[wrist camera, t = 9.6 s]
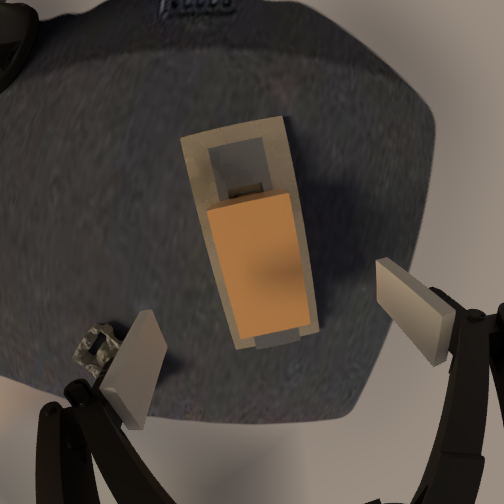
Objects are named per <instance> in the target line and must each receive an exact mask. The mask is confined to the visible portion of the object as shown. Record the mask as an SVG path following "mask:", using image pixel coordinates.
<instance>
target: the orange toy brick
mask: <svg viewBox="0 0 504 504" xmlns="http://www.w3.org/2000/svg"><path fill="white" fill-rule="evenodd" d="M207 215H208V219H209V223H210V227H211V231H212V235H213V239H214V243H215V246H216V250H217V254H218V258H219V262H220V266H221V269H222V273H223V277H224V281H225V284H226V288H227V292H228V295H229V299H230V303H231V306H232V310H233V313H234V317H235V321H236V324H237V328H238V331H239V335H240V338H241V339H244V338H249V337H254V336H259V335H264V334H269V333H274V332H278V331H283V330H287V329H292V328H296V327H300V326H305V325H309V324H311V323H310V316H309V309H308V302H307V295H306V289H305V282H304V276H303V270H302V263H301V257H300V251H299V245H298V240H297V234H296V228H295V223H294V217H293V212H292V206H291V201H290V196H289V193H288V192H287V191H285V190H283V189H281V188H280V189H275V190H270V191H265V192H261V193H256V194H255V192H249V193H245V194H240V195H238V196H237V198H233V199H229V200H224V201H220V202H216V203H212V204H211V205H210V207H209V208H208V209H207Z"/></svg>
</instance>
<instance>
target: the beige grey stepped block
mask: <svg viewBox="0 0 504 504" xmlns="http://www.w3.org/2000/svg"><path fill="white" fill-rule="evenodd" d="M180 140H181V145H182V149H183V154H184V158H185V162H186V167H187V171H188V175H189V179H190V184H191V188H192V192H193V196H194V200H195V204H196V208H197V212H198V216H199V220H200V224H201V228H202V232H203V235H204V239H205V243H206V247H207V251H208V254H209V258H210V262H211V265H212V269H213V273H214V276H215V280H216V283H217V287H218V290H219V294H220V297H221V301H222V304H223V308H224V311H225V315H226V318H227V321H228V325H229V328H230V331H231V335H232V338H233V341H234V345H235V348H236V350H237V349H243V348H248V347H253V346H256V348H257V350H258V349H263V348H268V347H272V346H277V345H282V344H286V343H291V342H295V341H300V336H304V335H308V334H312V333H316V332H319V324H318V316H317V308H316V300H315V293H314V286H313V279H312V272H311V265H310V258H309V252H308V246H307V240H306V234H305V228H304V222H303V216H302V210H301V205H300V199H299V194H298V189H297V183H296V178H295V173H294V168H293V163H292V158H291V154H290V149H289V144H288V139H287V135H286V130H285V126H284V121H283V117H282V116H277V117H271V118H266V119H260V120H255V121H250V122H245V123H240V124H235V125H231V126H226V127H222V128H217V129H213V130H209V131H205V132H201V133H197V134H193V135H190V136H186V137H182V138H180ZM280 188H281V189H283V190H285V191H287V192H288V193H289V196H290V201H291V206H292V212H293V217H294V223H295V228H296V234H297V240H298V245H299V251H300V257H301V263H302V270H303V276H304V282H305V289H306V295H307V302H308V309H309V316H310V323H311V324H309V325H305V326H300V327H296V328H292V329H287V330H283V331H278V332H274V333H269V334H264V335H259V336H254V337H249V338H244V339H241V338H240V335H239V331H238V328H237V324H236V321H235V317H234V313H233V310H232V306H231V303H230V299H229V295H228V292H227V288H226V284H225V281H224V277H223V273H222V269H221V266H220V262H219V258H218V254H217V250H216V246H215V243H214V239H213V235H212V231H211V227H210V223H209V219H208V215H207V209H208V208H209V207H210V205H211V204H212V203H216V202H220V201H224V200H229V199H233V198H237V196H238V195H240V194H245V193H249V192H255V194H256V193H261V192H265V191H270V190H275V189H280Z"/></svg>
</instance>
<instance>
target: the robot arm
mask: <svg viewBox="0 0 504 504" xmlns="http://www.w3.org/2000/svg"><path fill="white" fill-rule="evenodd" d="M38 26H39V17H38V14H37V12H36V10H35V9H33V8H32V7H30V6H28V5H27V4H24V3H13V4H12V3H2V2H0V93H1V92H2V91H3V90H4V89H5V88H6V87H7V86H8V85H9V84H10V83H11V81H12V80H13V79H14V78H15V76H16V75H17V73H18V72H19V71H20V69H21V67H22V66H23V64H24V62H25V61H26V59H27V57H28V55H29V53H30V51H31V49H32V46H33V44H34V41H35V38H36V35H37V31H38ZM376 278H377V302H378V303H379V304H380V305H381V306H382V308H383V309H384V310H385V311H386V312H387V313H388V314H389V315H390V317H391V318H392V319H393V320H394V321H395V322H396V323H397V324H398V326H399V327H400V328H401V329H402V330H403V331H404V333H405V334H406V335H407V336H408V337H409V338H410V340H411V341H412V342H413V343H414V344H415V345H416V346H417V348H418V349H419V350H420V351H421V353H422V354H423V355H424V356H425V357H426V359H427V360H428V361H429V362H430V364H431V365H432V366H433V367H434V366H436V365H439V364H441V363H443V362H445V361H446V359H447V355H448V351H450V353H451V354H452V355H453V358H452V362H451V365H450V369H449V373H450V376H449V381H448V387H447V392H446V397H445V402H444V406H443V411H442V415H441V420H440V423H439V427H438V431H437V435H436V438H435V441H434V445H433V448H432V451H431V454H430V458H429V461H428V463H427V467H426V469H425V472H424V475H423V477H422V480H421V483H420V485H419V487H418V490H417V491H416V493H415V495H414V497H413V499H412V501H411V503H410V504H475V500H476V497H477V493H478V490H479V486H480V481H481V477H482V473H483V469H484V463H485V458H484V456H481V451H482V445H483V438H484V432H485V425H486V416H487V405H488V391H489V365H490V368H491V372H492V375H493V379H494V383H495V387H496V391H497V396H498V400H499V405H500V409H501V415H502V420H503V426H504V303H502V304H500V305H499V307H498V311H497V314H492V315H487V316H486V314H485V313H484V312H482V311H480V310H477V309H468V310H466V309H465V308H463V307H462V306H461V305H460V304H458V303H457V302H456V301H454V300H453V299H451V297H449V296H448V295H446V293H444V292H443V291H442V290H440V289H437V288H434V287H430V288H427V287H426V286H425V285H423V284H422V283H421V282H419V281H418V280H417V279H416V278H414V277H413V276H412V275H410V274H409V273H408V272H406V271H405V270H404V269H402V268H401V267H400V266H398V265H397V264H396V263H394V262H393V261H391V260H390V259H389V258H387V257H386V258H382V259H378V260H376ZM166 350H167V345H166V342H165V340H164V338H163V335H162V333H161V331H160V328H159V326H158V324H157V321H156V319H155V316H154V314H153V311H152V309H150V310H144V311H140V312H139V314H138V316H137V318H136V319H135V321H134V323H133V325H132V327H131V328H130V330H129V332H128V334H127V336H126V338H125V339H124V341H123V343H122V345H121V347H120V349H119V350H118V352H117V354H116V356H115V357H111V358H110V359H109V360H108V361H107V362H106V363H105V364H104V366H103V368H102V370H101V371H102V372H100V374H99V377H97V379H96V381H95V383H94V385H93V387H92V388H91V386H90V385H89V383H88V382H87V381H86V380H85V379H77V380H74V381H72V382H71V383H69V384H68V385H67V386H66V387H65V389H64V396H65V397H66V398H67V400H68V401H69V403H70V404H71V405H72V407H68V408H62V406H61V405H60V404H59V403H58V402H55V401H54V402H49V403H47V404H46V405H44V406H43V408H42V409H41V410H40V414H39V422H38V432H37V446H36V473H35V475H36V476H35V477H36V479H35V480H36V504H100V500H99V496H98V491H97V486H96V481H95V475H94V470H93V463H92V456H91V453H92V455H93V457H94V459H95V462H96V464H97V466H98V468H99V470H100V472H101V474H102V476H103V478H104V480H105V481H106V484H107V485H108V487H109V489H110V491H111V493H112V494H113V496H114V498H115V500H116V501H117V503H118V504H176V503H175V502H174V500H173V499H172V498H171V497H170V496H169V494H168V493H167V492H166V491H165V490H164V488H163V487H162V486H161V485H160V483H159V482H158V481H157V479H156V478H155V477H154V476H153V474H152V473H151V472H150V470H149V469H148V467H147V466H146V465H145V463H144V462H143V461H142V459H141V458H140V456H139V455H138V453H137V452H136V451H135V449H134V447H133V446H132V445H131V443H130V441H129V440H128V438H127V437H126V435H125V433H124V432H123V431H122V430H121V425H122V422H123V423H124V424H125V426H126V427H127V428H128V430H143V427H144V424H145V420H146V417H147V413H148V410H149V406H150V403H151V399H152V396H153V393H154V389H155V386H156V383H157V379H158V376H159V373H160V369H161V366H162V363H163V360H164V357H165V354H166ZM365 504H381V502H380V499H376V500H374V501H371V502H368V503H365ZM385 504H403V503H385Z"/></svg>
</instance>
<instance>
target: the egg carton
mask: <svg viewBox="0 0 504 504" xmlns="http://www.w3.org/2000/svg"><path fill="white" fill-rule="evenodd" d="M100 332H102V333H103V334H105V335H106V336H107V337H106V339H107V341H105V342H103V344H102V345H101V347H100V349H99V350H98V352H97V354H96V355H92V354H91V353H90V352H88V351H89V349H90V348H91V346H92V345H93V343H94V342H95V340H96V339H97V337H98V334H99V333H100ZM122 343H123V341H120V340H118V339H117V338H116V337H115V336H114V334H113V328H112V327H111V326H110V325H109V324H105V325H100V324H98V323H96V324H95V326H94V327H93V326H92V327H91V329H90V330H89V331H88V333H87V334H86V336H85V338H84V339H83V340H82V342H81V344H80V345H79V347H78V348H77V349H76V351H75V353H74V355H73V358H72V360H73V361H75V362H77V363H78V364H80V365H81V366H84V367H86V368H87V369H88V371H89V372H92V373H93V375H94V377H95V378H97V377H99V374H100V372H102V371H101V370H102V368H103V366H104V364H105V363H106V362H107V361H108V360H109V359H110V358H111V357H115V356H116V354H117V352H118V349H120V347H121V345H122Z"/></svg>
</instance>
